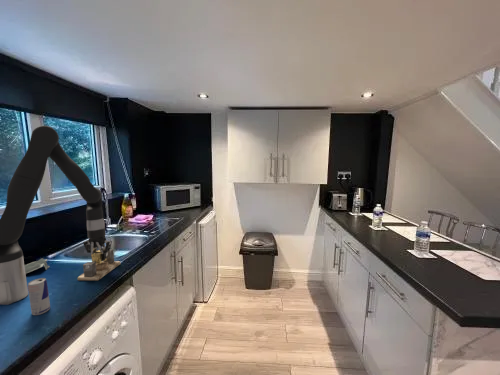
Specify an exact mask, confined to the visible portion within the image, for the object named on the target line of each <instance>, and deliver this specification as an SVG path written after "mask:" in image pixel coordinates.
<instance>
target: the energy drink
mask: <svg viewBox="0 0 500 375" xmlns="http://www.w3.org/2000/svg"><path fill="white" fill-rule="evenodd" d="M27 287H28V298H29V304H30V311H31V315H33V316H40V315H43V314H45V313H47V312H48V311H49V310H50V309H51V303H50V296H49V288H48V280H47V278H45V277H40V278H36V279H33V280H31V281H29V282H27Z"/></svg>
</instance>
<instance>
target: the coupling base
mask: <svg viewBox="0 0 500 375" xmlns="http://www.w3.org/2000/svg"><path fill="white" fill-rule="evenodd" d="M110 249H111V250H110V251H108V256H107V257H106V259H107V260H105V261H102V263H101V264H96V262H92V261H86V263H84V264H82V267H83V268H82V270H83V273H81V274H80V275H79V276H78V277H77V281H99V280H101V279H102V278H103V277H104V276H106V275H107V274H109V273H111V272H112V271H113V270H114V269H115V268H117V267H118V266H120V265H121V261H119V260H115V253H114V249H112V248H110ZM86 265H87V266H88V265H89V269H86V268H85V266H86Z"/></svg>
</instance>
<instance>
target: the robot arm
mask: <svg viewBox="0 0 500 375" xmlns="http://www.w3.org/2000/svg"><path fill="white" fill-rule="evenodd" d="M59 139H60V138H59V134H58V132H57V131H56V129H54V128H53V127H51V126H49V125H40V126H37V127H36V128H34V129H33V130H32V132H31V136H30V140H29V143H28V146H27V149H26V152H25V153H24V155H23V157H22V159H21V160H20V162H19V163H18V166H17V167H16V169H15V171H14V172H13V174H12V176H11V180H10V182H9V184H8V187H7V191H6V203H5V209H4V211H3V213H2V215H1V217H0V306H2V305H5V306H7V305H11V304H13V303H16V302H18V301H21V300H22V299H25V298H26V297H28V296H29V291H28V282H27V276H26V275H27V273H25V267H26V266H25V261H24V253H23V250H22V247H21V246H20V245H19V241H18V240H19V239H20V238H21V236H22V235H23V232H24V228H25V224H26V221H27V216H28V214H29V210H30V209H31V208H32V205H33V203H34V200H35V197H36V196H37V193H38V191H39V189H40V188H41V187H40V186H41V184H42V182H43V179H44V175H45V171H46V168H47V164H48V160H49V159H51V160H52V162H54V164H55V165H56V166H57V167H58V168H59V170H61V172H62V173H63V174H64V176H65V177H66V178H67V179H68V181H69V182H70V183H71V184H72V186H74V187H75V189H76V190H77V192H78V194H79V195H80V196H81V198H82V199H83V200H84V201H85V202H86V203H85V204H86V210H85V211H86V212H85V214H86V231H87V238H88V240H85V241H84V242H83V246H84V249H85V250H86V253H87V254H90V255H91V254H93V253H96V251H98V250H100V252H101V259H102V261H104V260H106V253H107V252H108V251H110V249H111V247H112V243H113V241H112V240H111V239H110V240H108V239H107V238H106V235H107V234H106V233H107V232H106V227H105V226H106V225H105V224H106V223H105V219H104V211H103V194H102V191H101V190H100V189H99V188H98V187H95V186H94V184H93V183H92V182H91V180H90V178H89V176H88V175H87V173H85V171H84V170H83V169H82V168H81V166H79V164H77V163H76V161H74V160H73V159H72V158H71V157H70V156H69V154H67V152H66V151H65V150H64V149H63V147H62V145H61V144H60V142H59ZM97 249H98V250H97Z"/></svg>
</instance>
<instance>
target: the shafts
mask: <svg viewBox="0 0 500 375" xmlns="http://www.w3.org/2000/svg"><path fill="white" fill-rule="evenodd" d="M111 249H112V248H110V250H111ZM107 256H108V252H107V253H106V257H107ZM91 262H96V261H95V260H94V261H92V260H91ZM96 263H97V262H96ZM85 268H86V269H89V265H88V266H87V265H86V266H85Z"/></svg>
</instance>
